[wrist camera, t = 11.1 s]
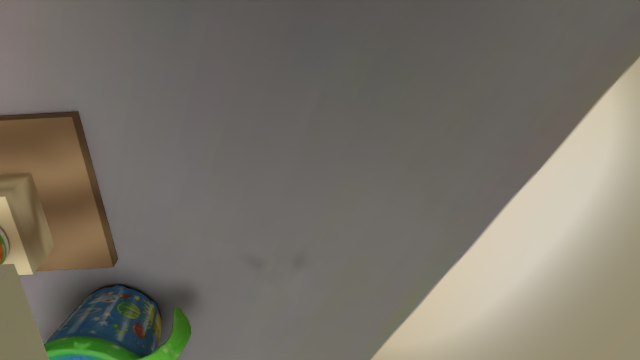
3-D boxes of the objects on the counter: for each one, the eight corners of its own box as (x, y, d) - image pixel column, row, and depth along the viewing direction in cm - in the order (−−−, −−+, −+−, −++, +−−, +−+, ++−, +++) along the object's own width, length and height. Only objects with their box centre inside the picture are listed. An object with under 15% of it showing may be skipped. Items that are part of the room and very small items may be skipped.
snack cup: (178, 249, 48) (146, 329, 39) (220, 336, 52) (201, 425, 43) (21, 290, 50) (-44, 375, 40) (76, 370, 54) (27, 462, 45)
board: (-124, 122, 42) (-135, 128, 41) (78, 111, 42) (71, 116, 41) (-58, 268, 48) (-67, 276, 47) (117, 259, 48) (113, 267, 47)
